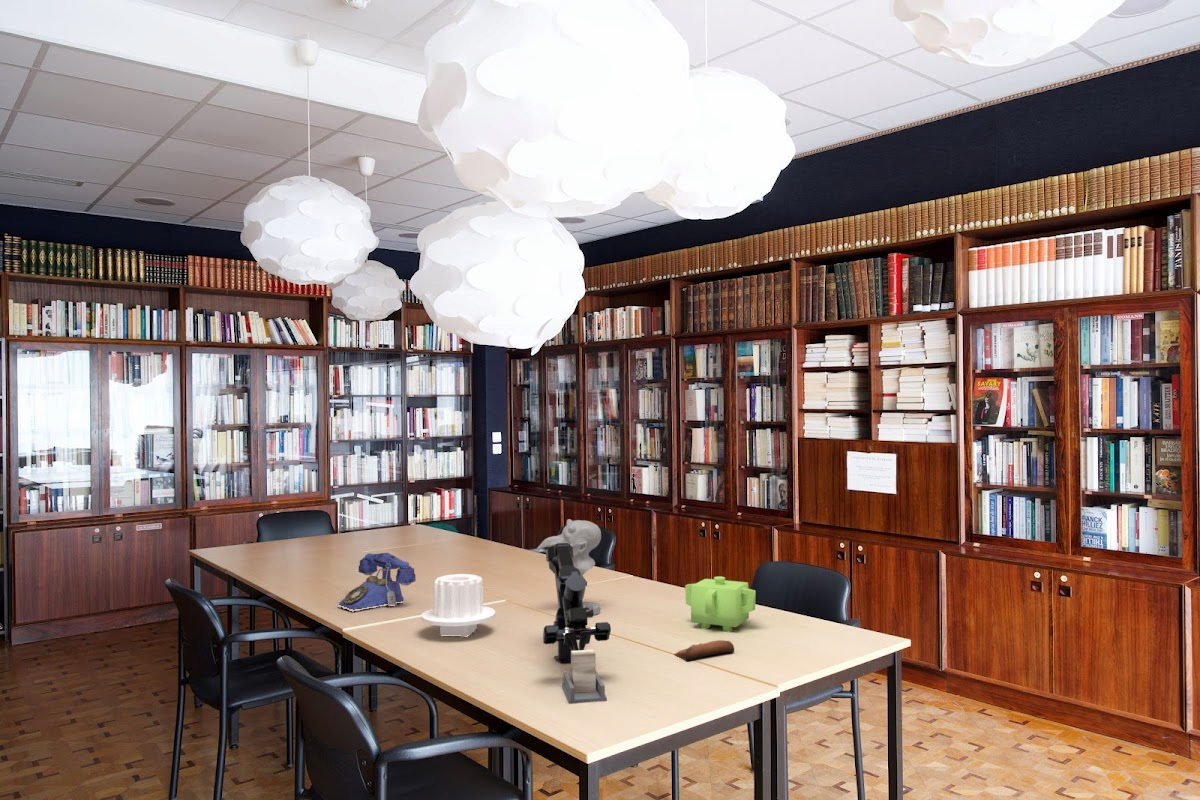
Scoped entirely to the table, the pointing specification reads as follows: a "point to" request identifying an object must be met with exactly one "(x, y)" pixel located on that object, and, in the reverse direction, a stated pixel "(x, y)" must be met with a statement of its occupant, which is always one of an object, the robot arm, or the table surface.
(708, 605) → the storage box
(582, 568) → the bust sculpture
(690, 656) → the brown elongated lump
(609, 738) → the table surface
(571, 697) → the gray chute
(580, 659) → the cream block
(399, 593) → the rotary telephone
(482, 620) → the flanged gear
